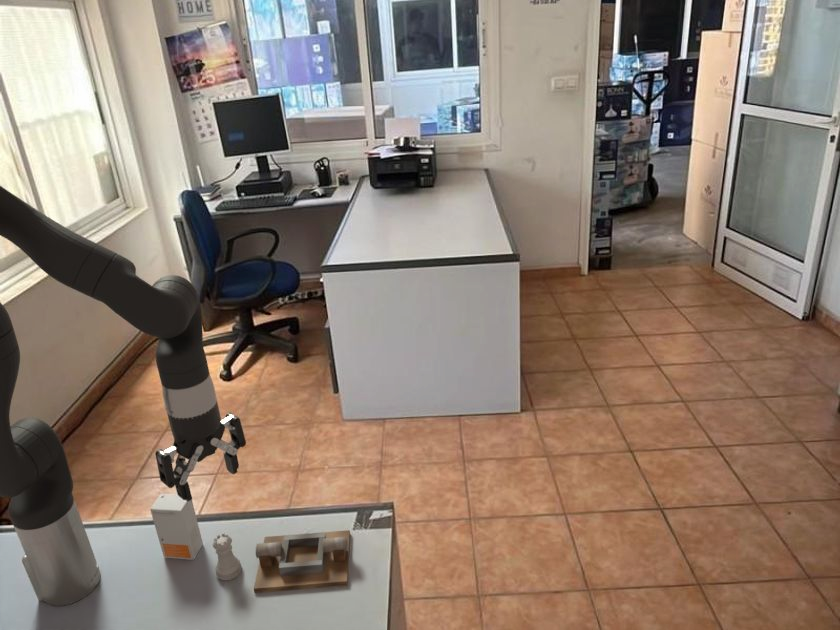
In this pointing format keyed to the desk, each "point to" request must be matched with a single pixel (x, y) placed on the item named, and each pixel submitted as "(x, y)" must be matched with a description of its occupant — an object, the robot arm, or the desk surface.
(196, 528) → the skincare box
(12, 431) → the robot arm
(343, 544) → the frame on base plate
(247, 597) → the desk surface
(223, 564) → the rook chess piece
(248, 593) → the desk surface
